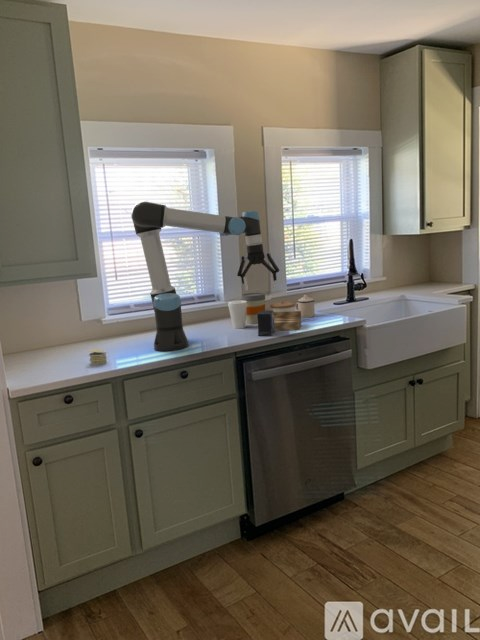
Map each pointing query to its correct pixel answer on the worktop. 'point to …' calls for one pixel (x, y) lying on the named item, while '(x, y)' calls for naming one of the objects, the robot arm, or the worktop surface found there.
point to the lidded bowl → (282, 306)
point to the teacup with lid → (306, 307)
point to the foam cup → (238, 313)
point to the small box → (265, 323)
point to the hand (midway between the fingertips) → (260, 289)
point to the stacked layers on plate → (98, 356)
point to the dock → (287, 320)
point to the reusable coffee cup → (253, 306)
